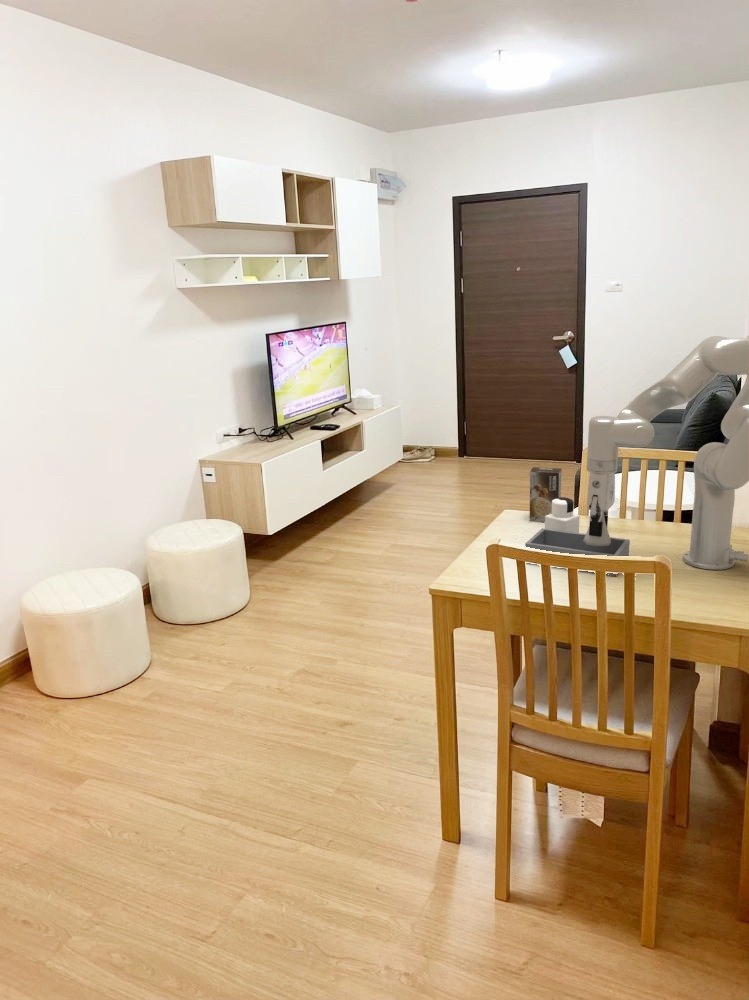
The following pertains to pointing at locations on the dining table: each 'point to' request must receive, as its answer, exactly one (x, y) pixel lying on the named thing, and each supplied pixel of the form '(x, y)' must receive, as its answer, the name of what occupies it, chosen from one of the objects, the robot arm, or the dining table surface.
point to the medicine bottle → (562, 516)
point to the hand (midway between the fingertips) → (598, 532)
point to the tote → (576, 544)
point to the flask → (598, 541)
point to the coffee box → (543, 491)
